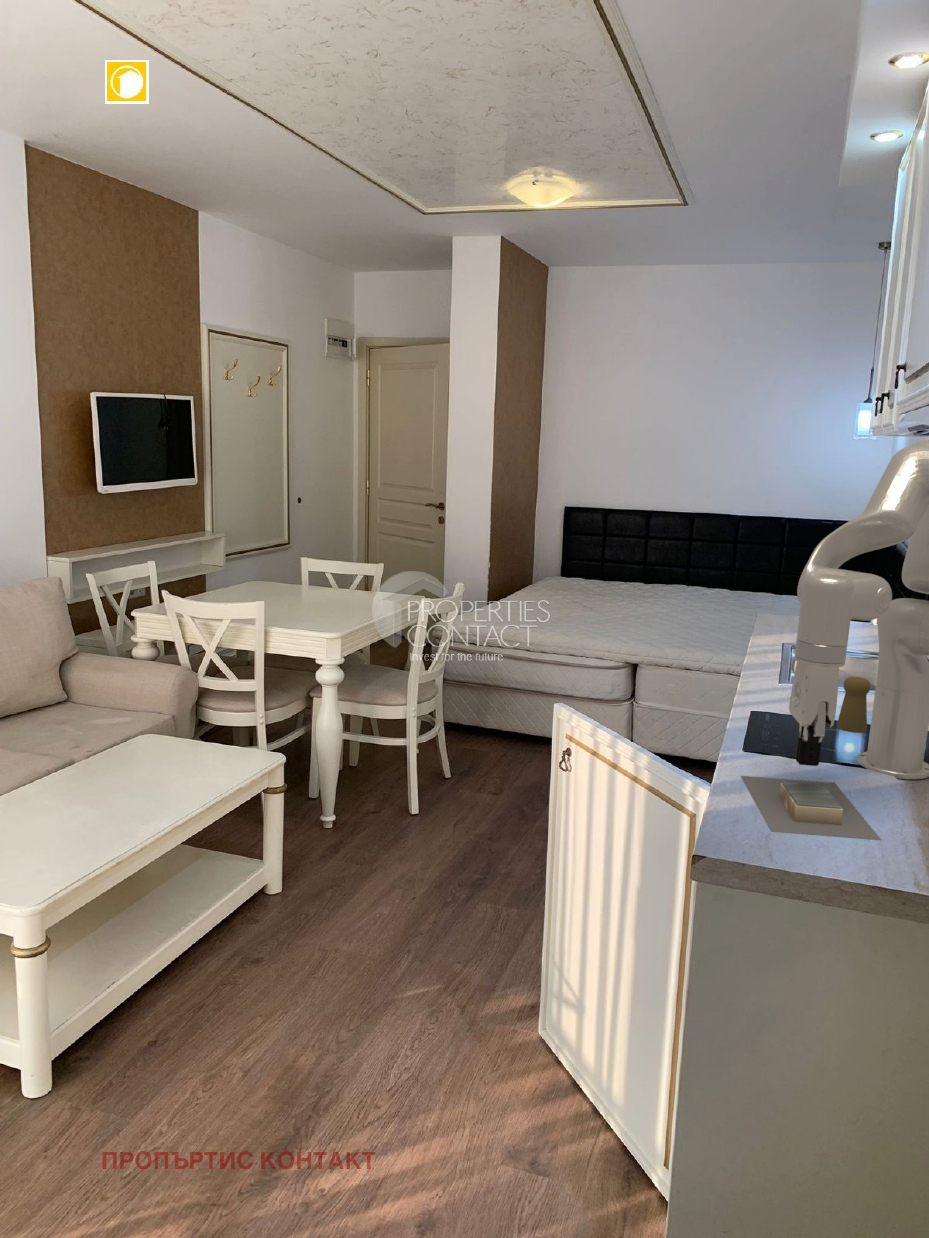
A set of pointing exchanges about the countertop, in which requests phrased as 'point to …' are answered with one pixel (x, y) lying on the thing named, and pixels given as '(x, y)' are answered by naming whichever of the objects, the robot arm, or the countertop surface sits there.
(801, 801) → the card box
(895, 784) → the countertop surface
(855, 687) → the olive brown pepper mill
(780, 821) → the mat
